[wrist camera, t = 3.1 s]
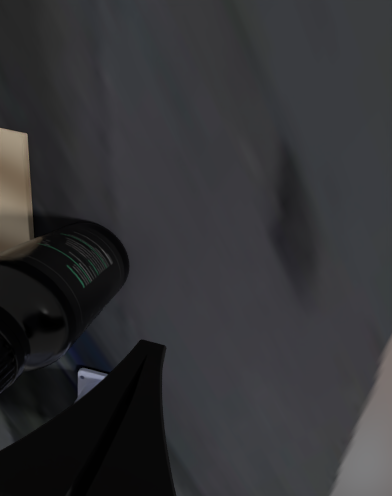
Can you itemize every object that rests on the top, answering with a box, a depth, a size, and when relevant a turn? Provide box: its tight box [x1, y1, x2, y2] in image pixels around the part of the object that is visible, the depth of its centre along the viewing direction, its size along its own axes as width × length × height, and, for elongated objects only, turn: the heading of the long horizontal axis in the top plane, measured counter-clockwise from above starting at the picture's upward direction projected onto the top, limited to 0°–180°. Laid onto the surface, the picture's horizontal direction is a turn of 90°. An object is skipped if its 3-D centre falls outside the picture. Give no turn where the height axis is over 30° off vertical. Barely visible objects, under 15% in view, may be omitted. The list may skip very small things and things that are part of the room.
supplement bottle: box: [0, 222, 129, 394], centre depth 15 cm, size 7×7×12 cm
